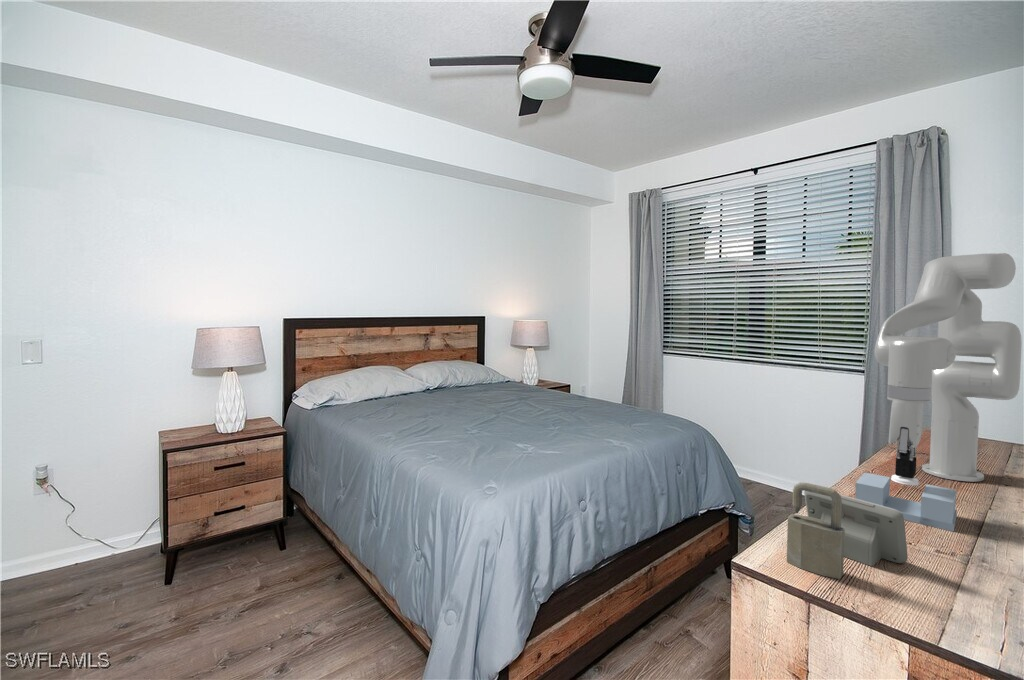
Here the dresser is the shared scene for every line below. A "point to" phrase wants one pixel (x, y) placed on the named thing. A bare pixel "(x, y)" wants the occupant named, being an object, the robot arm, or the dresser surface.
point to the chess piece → (905, 479)
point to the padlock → (816, 535)
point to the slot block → (930, 511)
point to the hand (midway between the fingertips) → (905, 474)
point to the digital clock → (864, 528)
